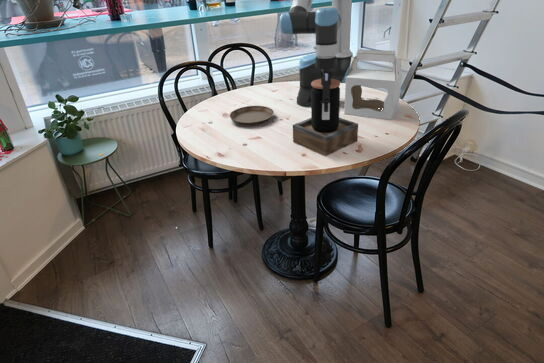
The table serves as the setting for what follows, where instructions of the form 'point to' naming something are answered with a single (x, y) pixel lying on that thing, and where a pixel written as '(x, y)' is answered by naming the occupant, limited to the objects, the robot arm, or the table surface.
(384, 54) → the gable box
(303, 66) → the robot arm
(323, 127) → the coffee jar
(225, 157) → the table surface
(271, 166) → the table surface
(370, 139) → the table surface
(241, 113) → the plant saucer
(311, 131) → the square wooden box
